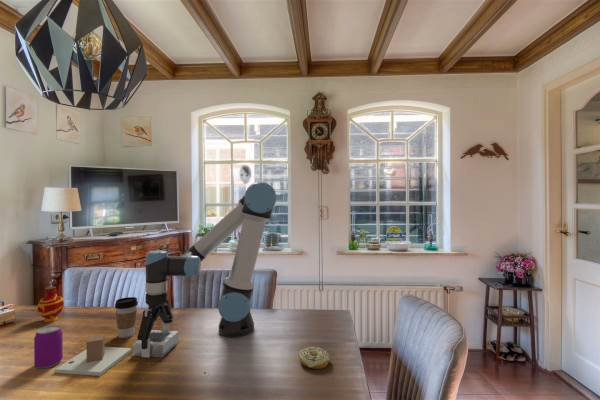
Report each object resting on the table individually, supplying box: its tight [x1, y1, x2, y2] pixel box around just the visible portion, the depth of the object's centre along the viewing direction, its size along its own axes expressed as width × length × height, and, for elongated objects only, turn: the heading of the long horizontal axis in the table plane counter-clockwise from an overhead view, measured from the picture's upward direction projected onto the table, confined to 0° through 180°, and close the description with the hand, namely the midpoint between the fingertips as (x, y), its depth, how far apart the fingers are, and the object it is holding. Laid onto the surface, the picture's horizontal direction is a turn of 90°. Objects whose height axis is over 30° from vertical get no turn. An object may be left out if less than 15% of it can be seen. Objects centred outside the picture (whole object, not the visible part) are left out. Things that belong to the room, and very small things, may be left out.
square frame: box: [132, 329, 179, 358], centre depth 120 cm, size 12×12×4 cm
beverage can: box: [33, 324, 64, 369], centre depth 109 cm, size 8×8×12 cm
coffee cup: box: [114, 296, 138, 339], centre depth 131 cm, size 8×8×15 cm
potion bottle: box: [36, 285, 65, 323], centre depth 147 cm, size 10×10×15 cm
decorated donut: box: [298, 346, 331, 370], centre depth 111 cm, size 10×11×4 cm
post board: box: [54, 334, 133, 377], centre depth 110 cm, size 16×16×8 cm
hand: (156, 347), depth 120 cm, fingers open, 13 cm apart
